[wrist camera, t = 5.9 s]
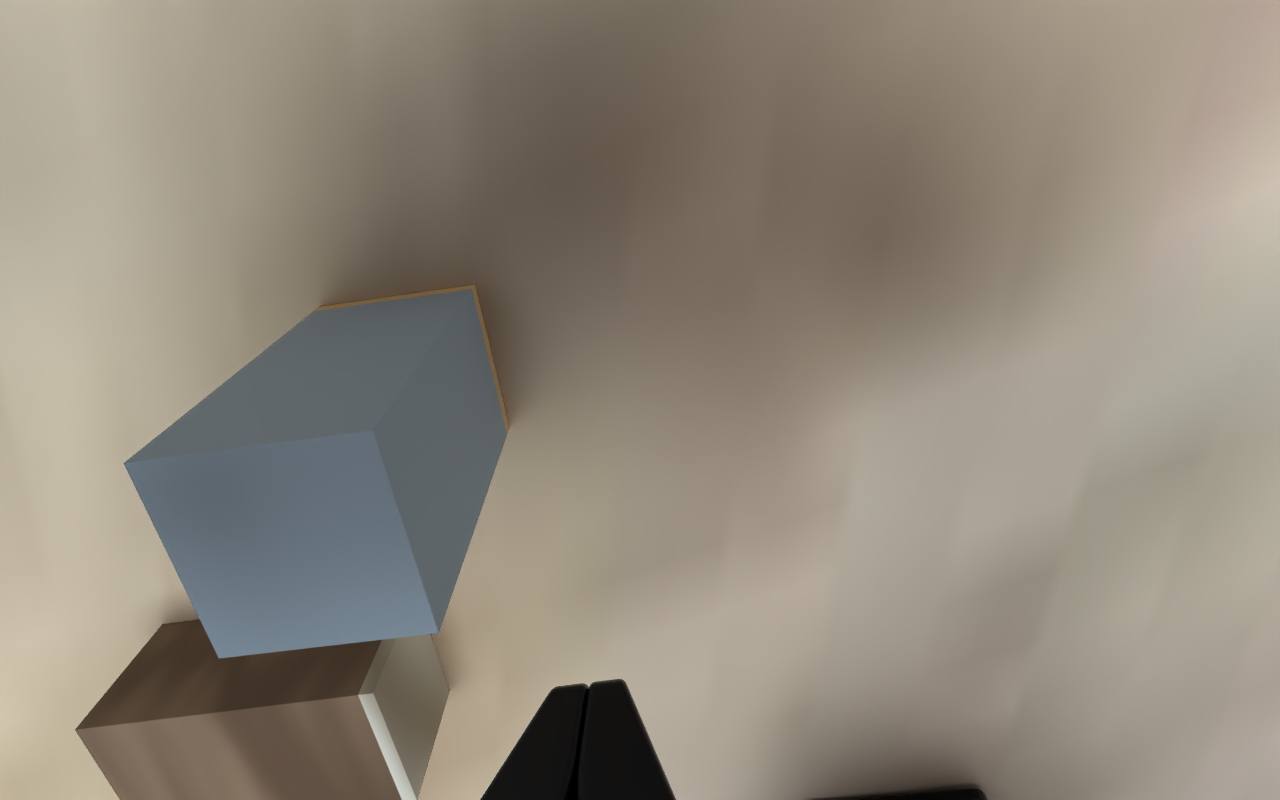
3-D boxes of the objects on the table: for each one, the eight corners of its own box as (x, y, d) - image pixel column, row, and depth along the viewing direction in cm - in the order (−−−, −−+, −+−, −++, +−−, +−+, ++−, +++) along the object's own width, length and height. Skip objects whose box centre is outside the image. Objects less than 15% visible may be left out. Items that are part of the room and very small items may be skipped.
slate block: (475, 284, 19) (372, 430, 12) (509, 427, 21) (438, 632, 13) (319, 306, 19) (123, 463, 12) (365, 446, 21) (218, 658, 14)
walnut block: (372, 693, 19) (74, 729, 20) (417, 800, 21) (140, 832, 21) (415, 590, 23) (162, 623, 23) (450, 689, 25) (213, 718, 25)
